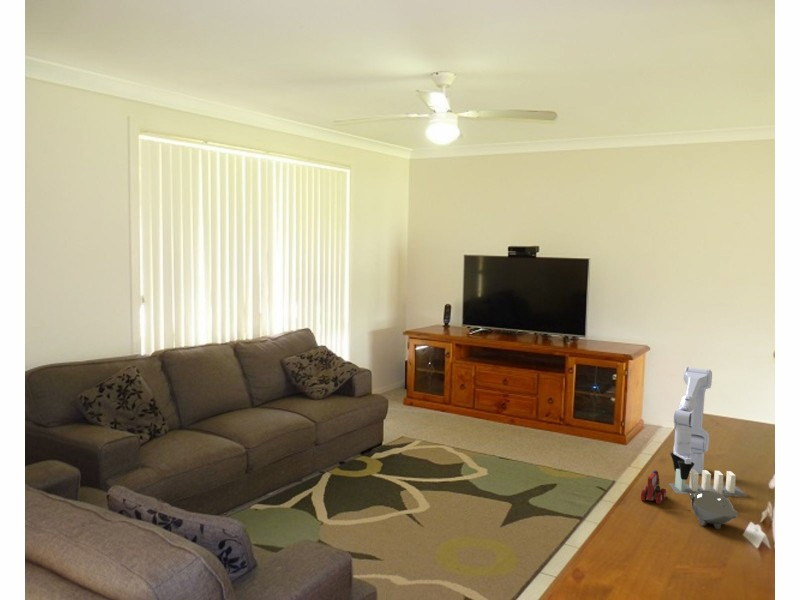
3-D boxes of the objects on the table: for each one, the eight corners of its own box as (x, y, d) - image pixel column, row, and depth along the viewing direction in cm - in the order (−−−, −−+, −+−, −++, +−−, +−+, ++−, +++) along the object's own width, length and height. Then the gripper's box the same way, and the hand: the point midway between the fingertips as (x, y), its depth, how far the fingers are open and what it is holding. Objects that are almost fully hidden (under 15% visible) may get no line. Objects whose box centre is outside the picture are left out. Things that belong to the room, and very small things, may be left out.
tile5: (730, 493, 246) (731, 475, 245) (725, 488, 251) (726, 471, 250) (734, 493, 246) (735, 475, 245) (730, 488, 250) (731, 471, 250)
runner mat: (668, 484, 255) (668, 483, 255) (736, 487, 253) (737, 486, 253) (676, 494, 246) (676, 493, 246) (747, 497, 243) (748, 496, 243)
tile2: (693, 491, 248) (694, 473, 247) (689, 486, 252) (690, 469, 251) (697, 491, 247) (698, 473, 247) (693, 487, 252) (694, 469, 251)
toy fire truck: (667, 496, 244) (668, 469, 243) (658, 507, 234) (660, 480, 233) (648, 492, 248) (649, 465, 247) (638, 502, 238) (640, 475, 237)
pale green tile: (681, 490, 248) (682, 473, 247) (674, 486, 252) (675, 469, 252) (685, 490, 248) (686, 473, 247) (678, 486, 252) (679, 468, 252)
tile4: (717, 492, 247) (719, 474, 246) (713, 487, 251) (714, 470, 250) (722, 492, 246) (723, 474, 246) (717, 488, 251) (718, 470, 250)
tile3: (705, 491, 247) (706, 474, 246) (701, 487, 251) (702, 470, 251) (709, 492, 247) (711, 474, 246) (705, 487, 251) (706, 470, 251)
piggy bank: (734, 536, 212) (736, 502, 211) (685, 525, 220) (687, 492, 218) (737, 523, 221) (740, 491, 220) (690, 513, 229) (692, 481, 228)
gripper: (700, 448, 241) (698, 483, 242) (687, 435, 255) (685, 468, 256) (680, 447, 241) (678, 482, 243) (668, 435, 256) (666, 468, 257)
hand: (680, 475), depth 250 cm, fingers open, 7 cm apart
